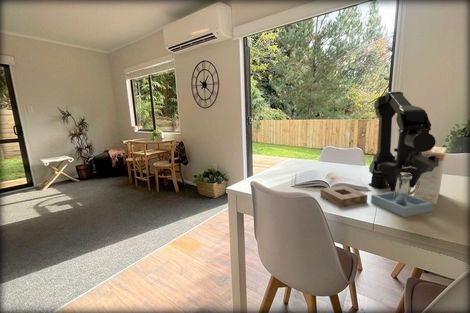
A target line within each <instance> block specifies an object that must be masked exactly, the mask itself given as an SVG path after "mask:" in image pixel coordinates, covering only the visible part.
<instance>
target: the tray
mask: <svg viewBox="0 0 470 313" xmlns="http://www.w3.org/2000/svg"><path fill="white" fill-rule="evenodd" d="M393 196H394V193H393V192H392V191H387V192H382V193H381V192H380V193H375V194H371V199H370V203H371V204H374V205H376V206H378V207H381V208H383V209H386V210H387V211H390V212H392V213H394V214H397V215H399V216H400V217H403V218H407V217H411V216H416V215H421V214H425V213H430V212H433V211H434V203H432V202H429V201H426V200H424V199H421V198H418V197H415V196H414V195H411V194H409V195H408V198H407V205H406V206H401V205H399V204H396V203H394V202H395V198H393Z"/></svg>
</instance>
